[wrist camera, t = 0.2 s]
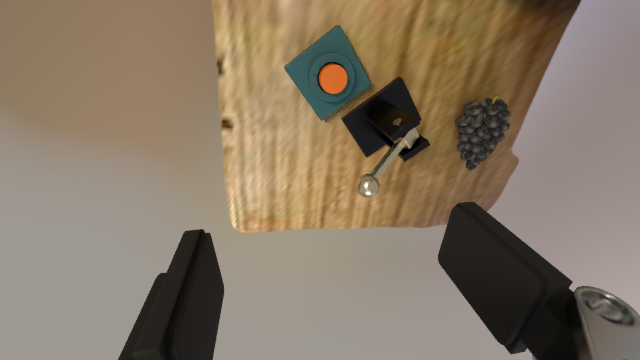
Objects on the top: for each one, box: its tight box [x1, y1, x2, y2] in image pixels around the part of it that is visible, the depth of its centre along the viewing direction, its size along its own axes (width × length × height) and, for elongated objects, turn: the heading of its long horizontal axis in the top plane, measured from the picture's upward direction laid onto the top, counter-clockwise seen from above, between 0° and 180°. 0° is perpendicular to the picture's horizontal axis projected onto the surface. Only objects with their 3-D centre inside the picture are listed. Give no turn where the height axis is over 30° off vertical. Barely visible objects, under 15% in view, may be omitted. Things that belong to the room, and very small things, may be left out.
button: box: [319, 64, 347, 94], centre depth 39 cm, size 4×4×2 cm
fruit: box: [455, 96, 510, 170], centre depth 49 cm, size 9×8×15 cm
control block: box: [284, 25, 371, 121], centre depth 41 cm, size 10×10×4 cm
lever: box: [356, 128, 419, 197], centre depth 38 cm, size 13×3×3 cm
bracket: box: [341, 77, 430, 162], centre depth 43 cm, size 12×9×12 cm
